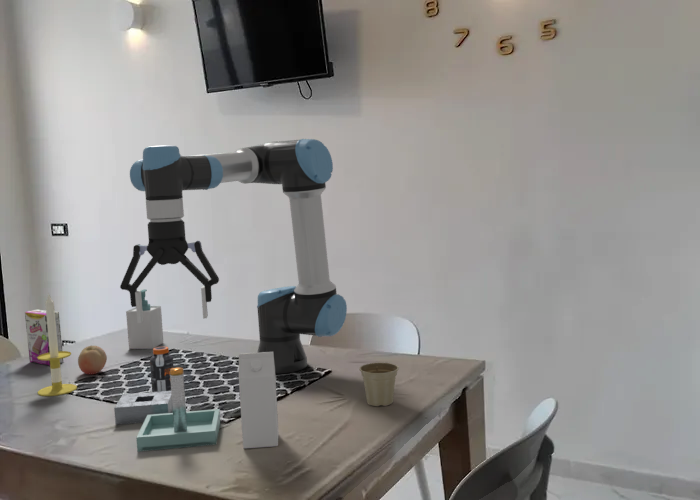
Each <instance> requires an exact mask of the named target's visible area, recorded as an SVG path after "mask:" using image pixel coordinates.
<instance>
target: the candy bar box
mask: <svg viewBox="0 0 700 500" xmlns="http://www.w3.org/2000/svg"><path fill="white" fill-rule="evenodd" d="M24 317H25V318H24V319H25V327H26V338H27V347H28V356H29V357H28V358H29V362H30V363H34V364H39V365H45V366H50V361H42V360H38V358H37V357H38V356H39V355H42V354H45V353H49V352H50V350H49V339H48V328H47V317H46V309H45V310H44V309H33V310H27V311H25V312H24ZM55 321H56V332H57V343H58V351H63V342H62V333H61V320H60V313H59V311H55ZM62 363H64V358H63V359H60V364H62Z"/></svg>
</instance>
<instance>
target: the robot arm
mask: <svg viewBox="0 0 700 500" xmlns="http://www.w3.org/2000/svg"><path fill="white" fill-rule="evenodd" d="M333 170H334V167H333V158H332V156H331V153H330V151H329V149H328V147H327V146H325V144H324V143H323V141H320V140H318V139H314V138H300V139H293V140H279V141H268V142H264V143H260V144H257V145H253V146H252V145H251V146H247V147H246V146H245V147H240V148H237V149H235V151H234V152H221V153H218V152H217V153H207V154H194V155H193V154H192V155H181V152H180V148H179V147H178V146H177V145H153V146H152V145H151V146H147V147H145V148H144V149H143V150H142V159H139V160H136V161H134V163H132V165H131V167H130V169H129V179H130V182H131V185H132V186H133V187H134V188H135V189H136V190H138V191H140V192H144V194H145V206H146V207H145V209H146V210H145V211H146V219H147V220H149V222H148V223H147V233H148V234H147V235H148V244H147V245H144V244H140V243H137V244H135V245H133V249H132V252H133V253H132V258H131V260H130V262H129V265H128V267H127V269H126V271H125V274H124V276H123V279H122V281H121V283H120V286H119V288H120V289H121V290H122V291H123V290H125V291H128V292H129V297H130V305H131V308H135V307H136V311H137V323H141V322H142V321H143V310H142V298H141V290H142V289H141V290H138V288H139V287H140V285H141V284H142V283H143V282H144V280H145V279H146V278H147V276H148V275H149V274H150V272H151V271H152V270H153V268H155V266H156V265H157V264H159V265H160V266H163V265H164V266H165V265H168V264H170V265H177V264H178V263H181V265H182V266H184V267H185V268H186V269H187V270H188V271H189V272H190V273H191V274H192V275H193V277H195V278H196V279H197V280H198V281H199V282H200V283H201V284H202V286H201V288H200V289H201V290H200V291H201V292H200V293H201V304H202V306H201V309H202V318H203V319H207V318H208V303H211V302H212V299H213V298H212V294H213V293H212V286H214V285H216V284H218V283H219V281H220V277H219V276H218V275H217V272H216V271H215V269H214V268H213V266H212V264H211V263H210V261H209V259H208V257H207V256H206V254H205V253H204V251H203V246H202V242H201V241H200V240H196V241H195V242H188V241H187V240H186V229H185V228H186V227H185V224H186V223H185V221H184V220H183V219H182V218H183V217H184V216H185V213H184V212H185V211H184V199H183V198H184V197H183V196H184V195H183V191H195V190H196V191H197V190H200V191H201V190H203V191H204V190H206V191H208V190H210V189H211V190H212V189H215V188H217V187H218V186H220V185H221V184H222V183H232V182H239V183H242V184H254V183H255V184H268V185H281V188H282V193H283V194H284V195H286V196H287V198H288V199H289V207H290V218H291V225H292V226H291V228H292V232H293V235H292V236H293V243H294V253H295V261H296V271H297V278H298V280H297V281H298V284H297V285H296V286H295V285H290V286H281V287H276V288H275V287H274V288H270V289H266V290H265V289H264V290H263V291H260V292H259V293H258V295H257V306H256V308H257V320H258V331H259V332H258V334H259V345H258V348H257V352H256V353H261V352H273V354H274V364H275V375H276V374H286V373H287V374H289V373H294V372H298V371H301V370H303V369H306V367H307V366H308V356H307V354H306V352H305V348H304V347H303V344H302V341H301V335H306V336H307V335H308V336H316V337H318V338H319V337H320V338H321V337H332V336H335V335H336V334H338V333H339V332H340V331H341V329H342V328H343V326H344V324H345V321H346V317H347V311H348V308H347V305H348V304H347V301H346V299H345V297H344V296H342V295H341V294H339V293H338V294H337V286H336V284H335V283H333V282H332V281H331V279H330V272H329V261H328V253H327V242H326V240H327V239H326V230H325V223H324V212H323V203H322V202H323V201H322V194H323V192H324V191H326V188H327V187H326V186H327V185H326V183H327V182H328V181H329V180H330V179H331V178H332V173H333ZM189 249H190V250H191V251H192V253H195V254H196V256H197V258H198V260H199V262H200V263H201V265H202V266H203V268H204V270H205V271H206V273H207V275H208V277H209V278H210V279H209V278H208V277H207V276H206V275H205V274H204V273H203V272H202V271H201V270H200V269H199V268H198V267H197V266H196V265H195V264H194V263H193V262H192V261H191V260H190V259H189V258H188V256H186V255H185V254H186V253H187V251H188V250H189ZM146 251H147V253H148V254H149V255H150V256H151V259H150V260H149V261H148V263H147V264H146V266H145V267H144V268H143V270H142V271H141V273H139V275H138V276H137V278H136V279H135V280H134V281H133V283H131V280H132V278H133V275H134V273H135V271H136V268H137V266H138V263H139V262H140V259H141V256H143V255H145V252H146Z"/></svg>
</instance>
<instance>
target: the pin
mask: <svg viewBox="0 0 700 500" xmlns="http://www.w3.org/2000/svg"><path fill="white" fill-rule="evenodd" d="M184 375H185V374H184V368H183V367H174V368H172V369H170V381H171V390H170V391H171V395H172V409H173V411H172V413H173V423H174V433H176V432H187V418H186V412H187V404H186V393H185V392H186V390H185V389H186V388H185V376H184Z"/></svg>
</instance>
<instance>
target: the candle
mask: <svg viewBox="0 0 700 500" xmlns="http://www.w3.org/2000/svg"><path fill="white" fill-rule="evenodd" d="M44 304H45V310H46V317H47V328H48V339H49V350H50V352H49V353H45V354H42V355H39V356H38V357H37V358H38V360H42V361H50V367H49V368H50V378H51V385H49V386H45V387H43V388H41V389H39V390H38V391H37V395H38V396H41V397H56V396H57V397H58V396H63V395H66V394H69V393H72V391H73V392H74V390H75V391H76V390H77V389H78V386H77V385H76V384H73V383H63V381H62V370H61V368H62V367H61V363H60V359H63V360H64V359H66V358H69V357H70V356H71V355H72V352H70V351H67V350H62V351H58V343H57V332H56V321H55V312H56V310H55V302H54V300H53V299H52V298H51V294H50V292H48V293H47V299H46V301H45V303H44Z"/></svg>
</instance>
